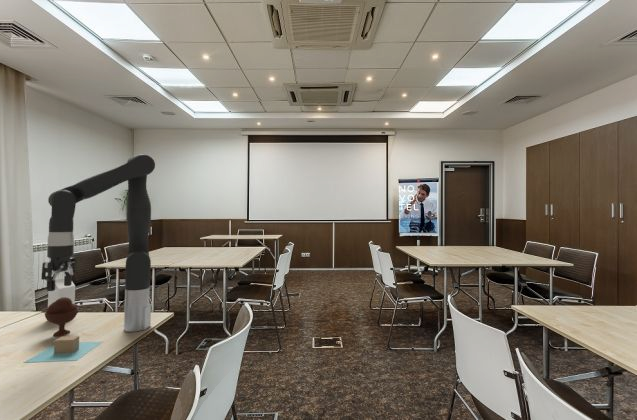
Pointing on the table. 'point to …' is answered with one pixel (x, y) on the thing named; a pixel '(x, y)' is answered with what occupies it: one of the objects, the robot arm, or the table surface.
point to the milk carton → (61, 291)
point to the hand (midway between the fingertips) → (59, 288)
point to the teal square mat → (64, 350)
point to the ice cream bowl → (61, 314)
